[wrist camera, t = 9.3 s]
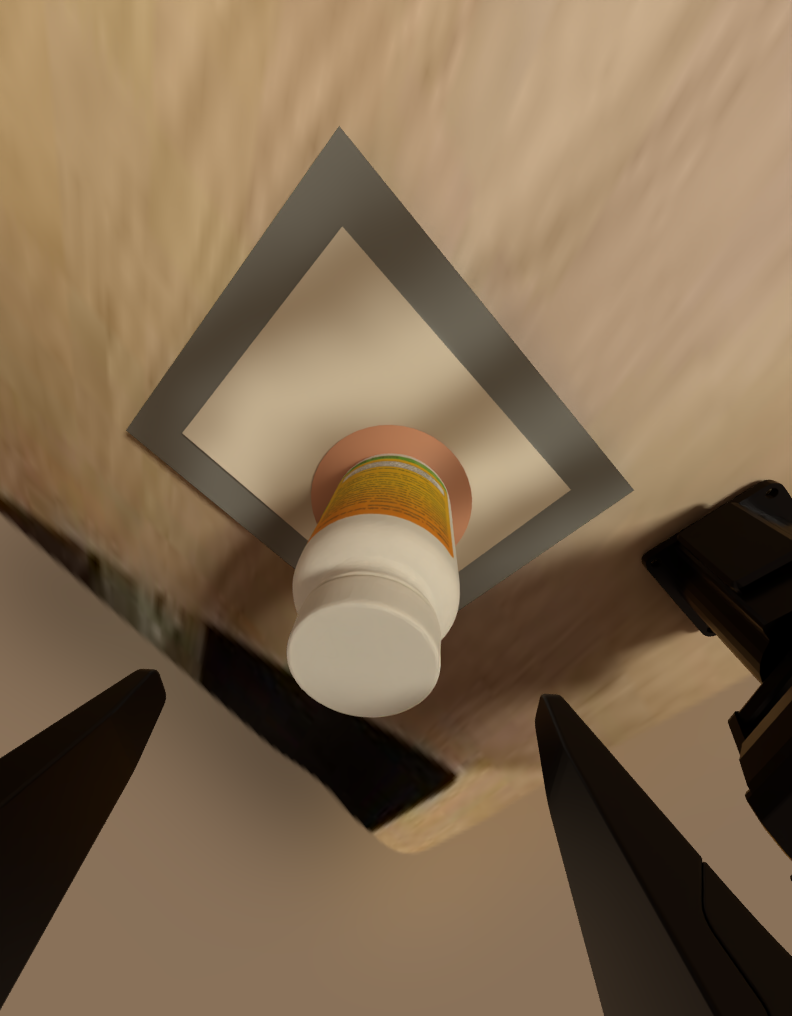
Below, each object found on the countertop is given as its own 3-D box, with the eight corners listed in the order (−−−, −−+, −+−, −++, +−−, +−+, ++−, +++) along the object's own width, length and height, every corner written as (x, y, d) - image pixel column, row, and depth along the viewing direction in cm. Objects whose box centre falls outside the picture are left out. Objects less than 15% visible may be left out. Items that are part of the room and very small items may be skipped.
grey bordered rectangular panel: (626, 483, 19) (637, 492, 18) (397, 642, 24) (396, 656, 23) (343, 135, 14) (337, 121, 13) (137, 426, 19) (121, 432, 18)
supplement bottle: (321, 464, 18) (222, 596, 10) (437, 438, 17) (446, 559, 9) (354, 562, 20) (298, 745, 12) (459, 544, 20) (484, 727, 11)
